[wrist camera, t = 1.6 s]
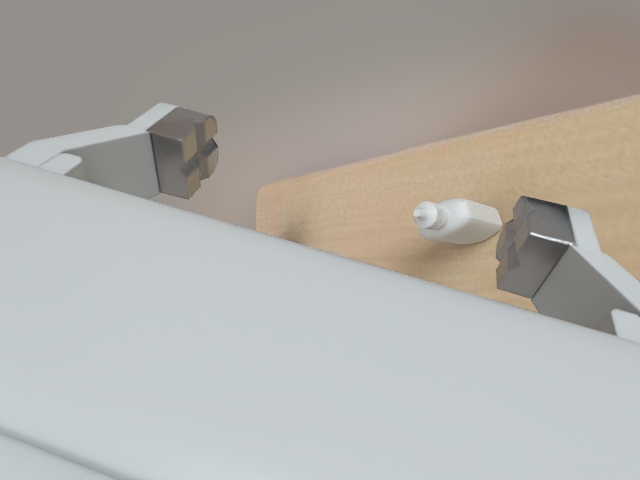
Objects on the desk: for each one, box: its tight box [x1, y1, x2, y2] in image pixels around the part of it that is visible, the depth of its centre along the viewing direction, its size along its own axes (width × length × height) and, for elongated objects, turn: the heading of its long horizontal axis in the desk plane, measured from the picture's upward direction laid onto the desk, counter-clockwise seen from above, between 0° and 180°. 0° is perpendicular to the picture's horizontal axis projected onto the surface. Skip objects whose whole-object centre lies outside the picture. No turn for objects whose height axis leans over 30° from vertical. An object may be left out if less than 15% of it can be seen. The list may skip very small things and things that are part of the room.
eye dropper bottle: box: [413, 199, 502, 245], centre depth 42 cm, size 4×6×12 cm
